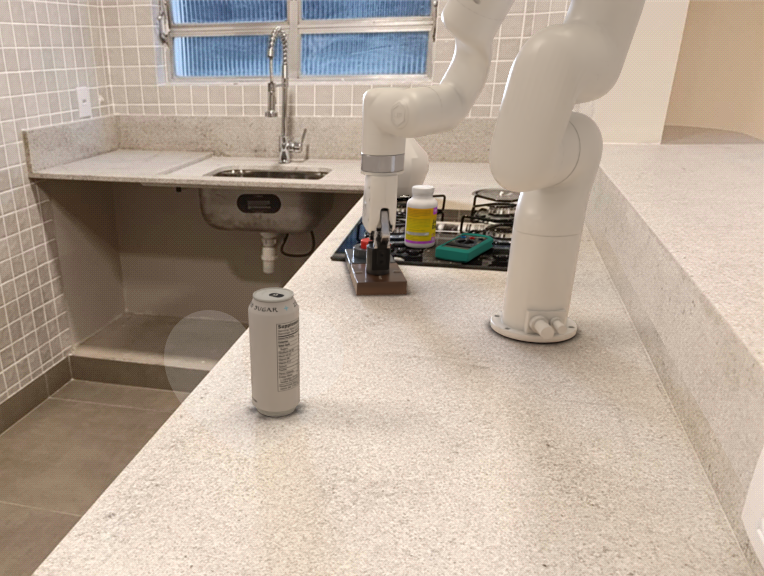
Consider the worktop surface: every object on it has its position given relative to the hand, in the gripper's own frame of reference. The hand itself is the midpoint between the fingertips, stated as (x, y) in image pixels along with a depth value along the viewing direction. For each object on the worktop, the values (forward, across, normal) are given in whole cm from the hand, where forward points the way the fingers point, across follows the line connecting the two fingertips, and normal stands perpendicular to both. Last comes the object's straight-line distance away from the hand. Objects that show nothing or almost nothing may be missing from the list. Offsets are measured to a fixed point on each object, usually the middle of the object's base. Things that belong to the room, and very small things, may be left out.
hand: (378, 264), depth 129 cm
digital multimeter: (+4, -20, +21) cm, 29 cm away
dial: (+1, 0, 0) cm, 1 cm away
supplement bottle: (+4, -28, +13) cm, 31 cm away
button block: (+4, -13, 0) cm, 14 cm away
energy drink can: (+4, +49, -19) cm, 53 cm away
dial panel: (+4, 0, 0) cm, 4 cm away
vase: (+4, -84, +17) cm, 86 cm away
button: (0, -13, 0) cm, 13 cm away
